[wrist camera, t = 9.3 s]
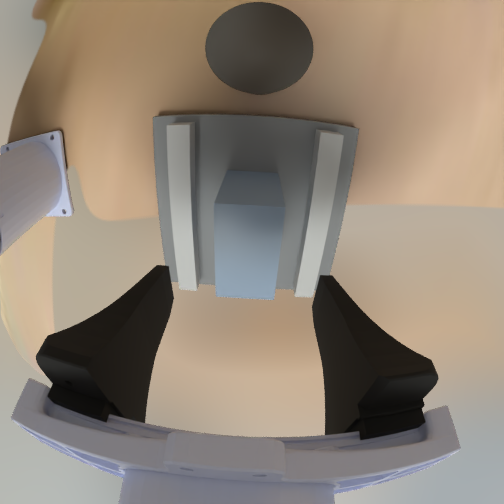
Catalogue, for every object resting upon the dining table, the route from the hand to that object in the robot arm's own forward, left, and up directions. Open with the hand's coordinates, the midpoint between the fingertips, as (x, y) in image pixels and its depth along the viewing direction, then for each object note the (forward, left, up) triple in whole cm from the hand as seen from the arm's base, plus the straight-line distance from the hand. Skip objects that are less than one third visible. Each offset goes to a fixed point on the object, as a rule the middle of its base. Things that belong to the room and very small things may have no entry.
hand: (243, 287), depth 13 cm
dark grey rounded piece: (0, +11, -9) cm, 15 cm away
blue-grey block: (0, 0, -8) cm, 8 cm away
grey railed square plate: (0, 0, -9) cm, 9 cm away
